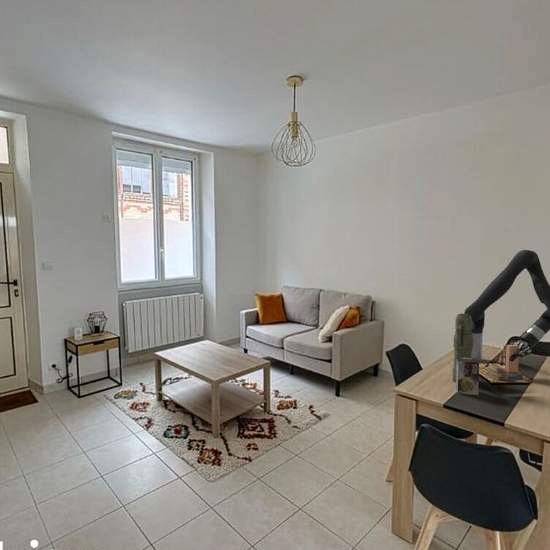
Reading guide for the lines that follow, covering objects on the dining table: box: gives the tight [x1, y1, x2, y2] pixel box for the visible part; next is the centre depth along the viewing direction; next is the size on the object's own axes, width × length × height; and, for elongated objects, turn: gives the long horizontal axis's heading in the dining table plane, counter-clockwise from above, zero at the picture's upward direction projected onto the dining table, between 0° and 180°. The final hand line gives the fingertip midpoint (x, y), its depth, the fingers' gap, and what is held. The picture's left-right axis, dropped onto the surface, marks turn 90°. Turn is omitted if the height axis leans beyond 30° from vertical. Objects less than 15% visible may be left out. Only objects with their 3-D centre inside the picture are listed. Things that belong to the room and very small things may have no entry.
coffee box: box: [455, 357, 480, 396], centre depth 174 cm, size 9×6×16 cm
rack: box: [484, 372, 529, 382], centre depth 190 cm, size 16×11×4 cm
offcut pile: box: [486, 362, 509, 381], centre depth 189 cm, size 6×9×6 cm, turn 3°
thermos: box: [452, 313, 473, 383], centre depth 187 cm, size 9×12×35 cm
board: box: [504, 344, 520, 373], centre depth 189 cm, size 5×2×14 cm, turn 93°
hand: (508, 359), depth 189 cm, fingers closed on board, 2 cm apart
